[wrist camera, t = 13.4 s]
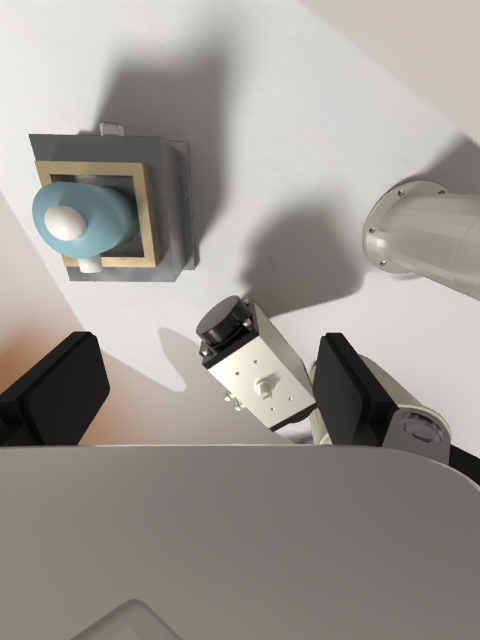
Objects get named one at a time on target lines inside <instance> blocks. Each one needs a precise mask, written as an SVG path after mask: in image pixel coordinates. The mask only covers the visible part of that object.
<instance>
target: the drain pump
mask: <svg viewBox="0 0 480 640" xmlns="http://www.w3.org/2000/svg"><path fill="white" fill-rule="evenodd" d="M32 213H33V219H34V223H35V226H36V228H37V230H38V232H39V234H40V235H41V237H42V238H43V239H44V241H45V242H46V243H47V244H48V245H49V246H50V247H52V248H53V249H54V250H56V251H57V252H59V253H61V254H63V255H65V256H68V257H71V258H77V259H78V262H79V266H80V271H81V272H83V273H95V272H100V271H103V266H102V260H101V255H100V253H102V252H104V251H107V250H109V249H112V248H114V247H117V246H119V245H121V244H124V243H126V242H128V241H130V240H131V239H132V238H133V237H134V236H135V235H136V233H137V231H138V228H139V215H138V210H137V208H136V206H135V204H134V202H133V201H132V200H131V199H130V197H129V196H128V195H126V194H125V193H124V192H123V191H121V190H119V189H117V188H114V187H109V186H100V185H90V184H80V183H71V182H53V183H50V184H47V185H45V186H44V187H43V188H41V189H40V190H39V192H38V193H37V194H36V196H35V199H34V201H33V208H32Z"/></svg>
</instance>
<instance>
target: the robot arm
mask: <svg viewBox="0 0 480 640" xmlns="http://www.w3.org/2000/svg"><path fill="white" fill-rule="evenodd" d="M398 192H399V194H398ZM370 228H371V230H370ZM369 230H370V231H369ZM363 246H364V250H365V253H366V255H367V257H368V259H369V260H370V262H371V263H372V264H373V265H375V266H376V267H378V268H379V269H381V270H383V271H386V272H389V273H396V274H402V273H408V272H411V271H413V272H415V273H417V274H420V275H422V276H424V277H426V278H429V279H431V280H433V281H436V282H438V283H440V284H443V285H445V286H447V287H449V288H451V289H454V290H456V291H458V292H461V293H463V294H465V295H468V296H470V297H472V298H474V299H477V300H479V301H480V194H450V192H449V191H448V190H447V189H446V188H445V187H443V186H442V185H441V184H438V183H436V182H433V181H425V180H423V181H413V182H408V183H405V184H402V185H400V186H398V187H396V188H394V189H393V190H391V191H389V192H388V193H387V194H386V195H385V196H383V197H382V198H381V199H380V201H379V202H378V203H377V204H376V205H375V206H374V208H373V210H372V211H371V213H370V214H369V217H368V219H367V221H366V224H365V228H364V232H363ZM380 262H381V263H380ZM109 392H110V385H109V382H108V378H107V374H106V370H105V367H104V363H103V359H102V355H101V351H100V347H99V344H98V340H97V337H96V336H95V335H93V334H92V333H91V332H73V333H72V334H70V335H69V336H68V337H67V338H66V339H65V340H63V341H62V342H61V343H60V344H59V345H58V346H56V347H55V348H54V349H53V350H52V351H51V352H50V353H48V354H47V355H46V356H45V357H44V358H43V359H41V360H40V361H39V362H38V363H37V364H36V365H35V366H33V367H32V368H31V369H30V370H29V371H27V372H26V373H25V374H24V375H23V376H22V377H20V378H19V379H18V380H17V381H16V382H15V383H13V384H12V385H11V386H10V387H9V388H8V389H7V390H5V391H4V392H3V393H2V394H1V395H0V640H480V459H479V458H477V457H475V456H473V455H471V454H469V453H467V452H465V451H463V450H461V449H459V448H457V447H455V446H453V445H451V444H450V442H451V439H450V434H449V432H448V431H447V429H446V428H445V427H444V426H443V425H442V424H441V423H440V422H439V421H438V420H436V419H435V418H433V417H432V416H430V415H428V414H426V413H424V412H421V411H418V410H415V409H408V408H406V409H400V408H399V407H398V406H397V405H396V403H395V402H394V401H393V399H392V398H391V397H390V395H389V394H388V393H387V391H386V390H385V389H384V388H383V386H382V385H381V384H380V382H379V381H378V380H377V378H376V377H375V376H374V374H373V373H372V372H371V371H370V369H369V368H368V367H367V365H366V364H365V363H364V362H363V360H362V359H361V358H360V356H359V355H358V354H357V352H356V351H355V350H354V348H353V347H352V346H351V345H350V343H349V342H348V341H347V339H346V338H345V337H344V335H343V334H342V333H326V335H325V336H322V337H321V340H320V346H319V352H318V357H317V363H316V369H315V374H314V380H313V386H312V392H313V396H314V398H315V401H316V403H317V406H318V409H319V411H320V414H321V416H322V419H323V421H324V424H325V427H326V429H327V432H328V434H329V437H330V439H331V442H332V444H170V445H169V444H166V445H165V444H158V445H78V443H79V441H80V440H81V438H82V437H83V435H84V433H85V432H86V430H87V428H88V427H89V425H90V424H91V422H92V420H93V419H94V417H95V416H96V414H97V413H98V411H99V409H100V408H101V406H102V405H103V403H104V401H105V400H106V398H107V396H108V395H109Z"/></svg>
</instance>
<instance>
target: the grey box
mask: <svg viewBox="0 0 480 640" xmlns="http://www.w3.org/2000/svg"><path fill="white" fill-rule="evenodd" d="M99 126H100V131H101V136H100V135H54V134H29V138H30V141H31V145H32V148H33V152H34V155H35V159H36V161H35V164H36V168H37V171H38V175H39V178H40V182H41V185H42V188H43V187H44V186H45V185H47V184H50V183H53V182H71V183H80V184H90V185H100V186H109V187H114V188H117V189H119V190H121V191H123V192H124V193H125V194H126V195H128V196H129V197H130V199H131V200H132V201H133V202H134V204H135V206H136V208H137V210H138V215H139V228H138V231H137V233H136V235H135V236H134V237H133V238H132V239H131V240H130V241H128V242H126V243H124V244H121V245H119V246H117V247H114V248H112V249H109V250H107V251H104V252H102V253H100V255H101V260H102V266H103V271H100V272H95V273H83V272H81V271H80V266H79V262H78V259H77V258H71V257H68V256H65V255H63V254H61V255H62V258H63V262H64V265H65V266H66V268H67V271H68V275H69V278H70V281H119V282H175V281H176V279H177V278H178V276H179V275H180V273H181V272H182V270H195V268H196V266H195V250H194V233H193V217H192V201H191V184H190V168H189V152H188V143H187V142H186V141H165V140H164V139H162V138H161V137H145V136H126V135H125V129H124V126H123V125H120V124H115V123H100V124H99Z"/></svg>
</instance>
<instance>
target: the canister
mask: <svg viewBox="0 0 480 640" xmlns="http://www.w3.org/2000/svg"><path fill="white" fill-rule="evenodd" d="M358 355H359V356H360V358H361V359H362V360H363V362H364V363H365V364H366V365H367V367H368V368H369V369H370V371H371V372H372V373H373V374H374V376H375V377H376V378H377V380H378V381H379V382H380V384H381V385H382V386H383V388H384V389H385V390H386V391H387V393H388V394H389V395H390V397H391V398H392V399H393V401H394V402H395V403H396V405H397V406H398V407H399V408H400V409H406V408H408V409H415V410H418V411H421V412H424V413H426V414H428V415H430V416H432V417H433V418H435V419H436V420H438V421H439V422H440V423H441V424H442V425H443V426H444V427H445V428H446V429H447V431H448V432H449V434H450V439H451V431H450V427H449V425H448V423H447V422H446V420H445V419H444V418H443V417H442V416H441V415H440V414H439V413H437V412H436V411H434V410H432V409H430V408H428V407H425V406H423V405H422V404H421V403H420V402H419V401H418V400H417V399H415V398H414V397H413V396H412V395H411V394H410V393H409V392H408V391H407V390H405V389H404V388H403V387H402V386H401V385H400V384H399V383H398V382H397V381H396V380H394V379H393V378H392V377H391V376H390V375H389V374H388V373H386V372H385V371H384V370H383V369H382V368H381V367H379V366H378V365H377V364H376V363H374V362H373V361H371V360H370V359H368V358H367V357H364V356H362V355H360V354H358ZM315 369H316V365H315V366H314V367H313V369H312V370H311V371H310V374H309V378H310V380H311V383H312V385H313V380H314V374H315ZM309 418H310V423H311V428H312V433H313V439H314V444H332V442H331V439H330V437H329V434H328V432H327V429H326V427H325V424H324V421H323V419H322V416H321V414H320V411H319V409H318V408H317V409H315V410H313V412H312V413H311V414H310V415H309ZM450 444H451V442H450Z"/></svg>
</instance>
